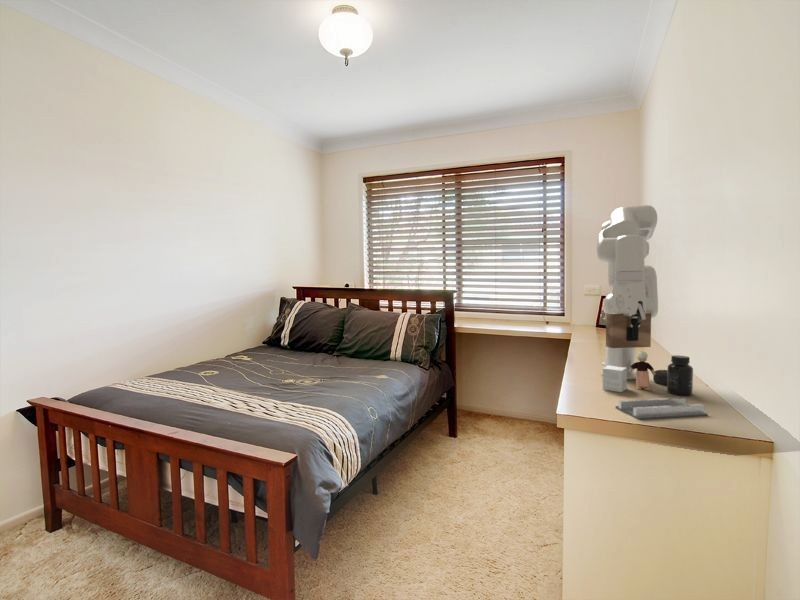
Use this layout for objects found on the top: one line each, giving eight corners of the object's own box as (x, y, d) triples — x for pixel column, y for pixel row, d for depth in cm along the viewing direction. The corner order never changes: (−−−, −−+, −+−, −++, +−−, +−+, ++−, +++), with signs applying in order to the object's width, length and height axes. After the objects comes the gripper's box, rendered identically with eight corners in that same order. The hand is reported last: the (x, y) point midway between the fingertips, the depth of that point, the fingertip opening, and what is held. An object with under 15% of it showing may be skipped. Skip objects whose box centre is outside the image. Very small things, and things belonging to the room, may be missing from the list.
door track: (615, 407, 119) (615, 399, 119) (678, 404, 121) (678, 395, 121) (639, 419, 109) (639, 410, 109) (707, 415, 111) (707, 406, 111)
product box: (627, 388, 138) (627, 367, 138) (621, 392, 134) (622, 370, 133) (607, 385, 142) (608, 365, 142) (601, 389, 138) (602, 368, 137)
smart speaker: (682, 388, 138) (683, 376, 138) (652, 384, 144) (652, 373, 143) (683, 382, 146) (684, 371, 145) (654, 379, 151) (654, 368, 151)
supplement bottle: (696, 396, 128) (697, 358, 127) (672, 395, 129) (673, 358, 129) (686, 390, 135) (687, 354, 134) (663, 390, 136) (663, 354, 135)
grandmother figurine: (652, 387, 139) (653, 350, 138) (656, 390, 135) (656, 352, 134) (627, 386, 141) (627, 349, 140) (629, 389, 137) (630, 351, 137)
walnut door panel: (605, 346, 122) (606, 313, 122) (643, 345, 123) (644, 312, 123) (611, 348, 119) (612, 314, 119) (650, 347, 120) (651, 313, 120)
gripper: (601, 278, 128) (600, 336, 129) (635, 277, 112) (634, 344, 113) (623, 277, 129) (622, 335, 130) (661, 277, 113) (660, 343, 113)
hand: (628, 339), depth 121 cm, fingers closed on walnut door panel, 3 cm apart
